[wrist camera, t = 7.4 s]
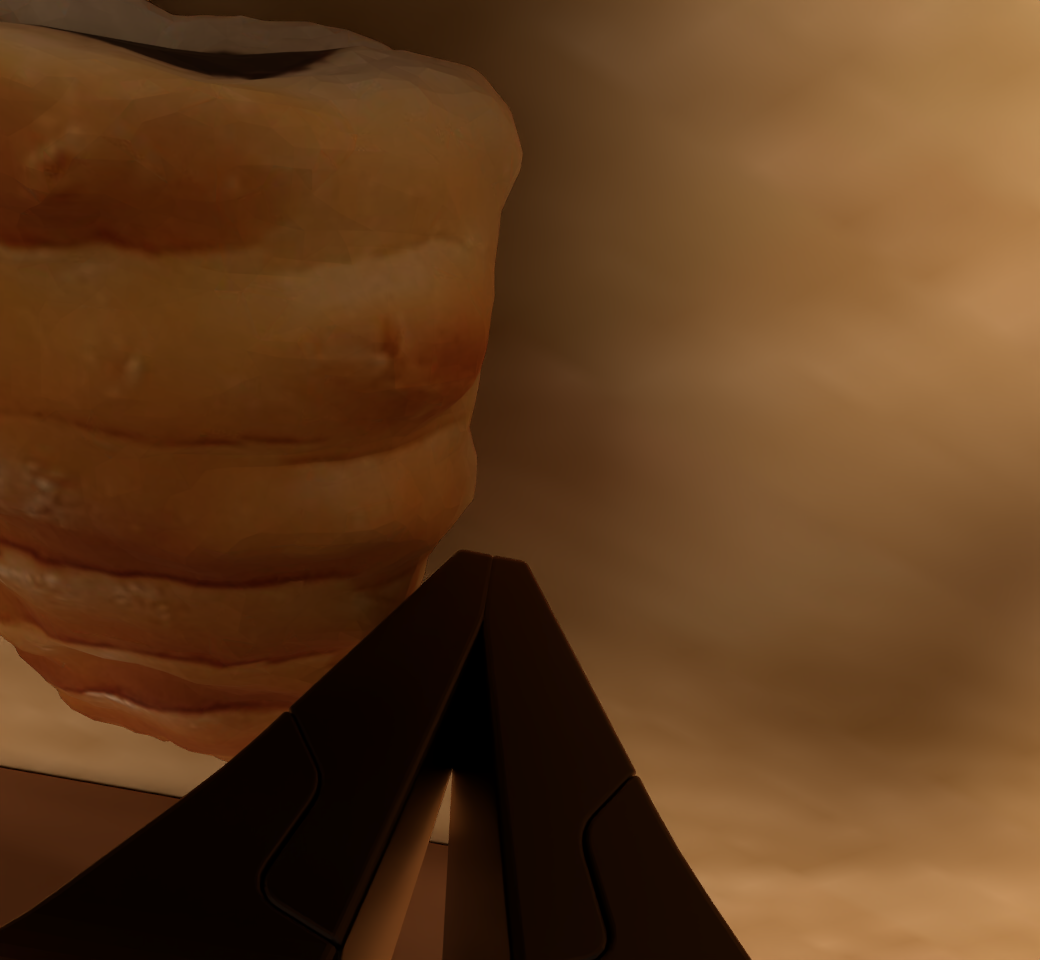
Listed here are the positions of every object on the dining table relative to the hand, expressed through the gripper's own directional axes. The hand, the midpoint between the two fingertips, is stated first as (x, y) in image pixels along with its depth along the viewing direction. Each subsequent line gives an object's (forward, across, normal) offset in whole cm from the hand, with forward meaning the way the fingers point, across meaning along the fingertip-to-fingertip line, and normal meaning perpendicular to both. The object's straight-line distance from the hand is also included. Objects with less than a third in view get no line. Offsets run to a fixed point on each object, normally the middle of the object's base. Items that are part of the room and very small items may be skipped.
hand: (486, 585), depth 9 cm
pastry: (+2, +4, -1) cm, 4 cm away
